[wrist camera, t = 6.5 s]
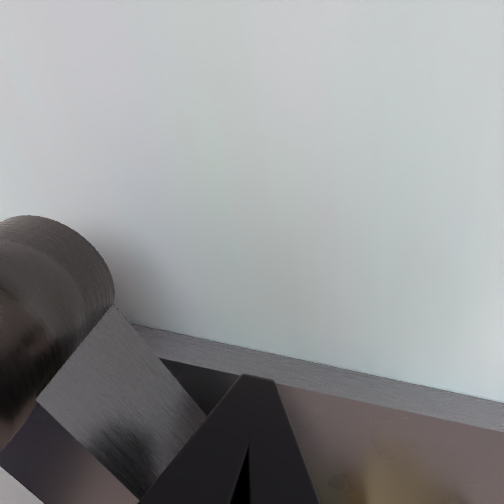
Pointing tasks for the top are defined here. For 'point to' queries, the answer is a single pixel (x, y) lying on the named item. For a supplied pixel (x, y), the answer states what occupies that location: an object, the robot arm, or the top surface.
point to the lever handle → (79, 376)
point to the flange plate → (359, 425)
